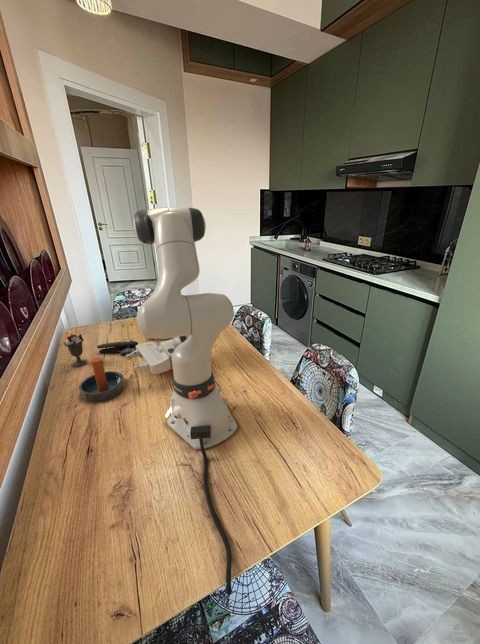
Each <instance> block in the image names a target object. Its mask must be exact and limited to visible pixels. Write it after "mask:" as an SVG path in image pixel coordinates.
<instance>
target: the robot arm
mask: <svg viewBox="0 0 480 644" xmlns="http://www.w3.org/2000/svg"><path fill="white" fill-rule="evenodd" d="M132 228H133V232H134V234H135V235H136V237H137V239H138V241H139V242H141V243H142V244H145V245H153V244H154V248H155V254H156V261H157V273H158V274H157V281H156V286H155V288H154V290H153V292H152V293H151V295H149V297H148V298H147V299H145V301H144V302H143V303H141V305H140V306H139V308H138V310H137V312H136V325H137V327H138V329H139V331H140V332H141V334H142V335H143V336H145V337H146V338H147V339H149V338H155V339H154V340H160V339H167V340H162V341H160V342H156V341H146V342H142V343H138V345H136V350H135V351H133V352H132V353H131V354H127V355H126V356H125V358H126V360H127V361H131V360H133V359H134V358H138V357H139V358H140V359H141V361H142V362H143V363H144V364H138V363H137V364H134V365H133V367H132V368H133V370H134V372H139V371H149V372H150V373H151V374H152V375H159V374H163V373H165V372H168V371H170V370H172V372H173V374H172V387H173V393H172V394H171V397H170V398H169V402H170V404H169V405H170V407H169V409H168V410H167V412H166V414H165V418H168V419H167V420H166V425H167V426H168V427H169V428H170V429H171V430H172V431H174V432H175V433H176V434H177V435H178V436H179V437H180V438H181V439H183V440H184V441H185V442H186V443H187V444H188V445H190V446H191V447H192V448H193V449H194V450H200V451H201V454H202V458H203V474H202V475H203V476H202V481H203V482H202V483H203V489H204V494H205V499H206V503H207V506H208V509H209V512H210V516H211V518H212V522H213V524H214V525H215V527H216V529H217V531H218V533H219V535H220V537H221V539H222V542H223V545H224V548H225V554H226V569H225V588H226V591H225V592H226V595H228V596H230V595H232V591H233V590H232V562H233V561H232V560H233V559H232V550H231V546H230V542H229V539H228V537H227V535H226V532H225V530H224V529H223V526H222V524H221V523H220V521H219V519H218V516H217V514H216V511H215V508H214V504H213V502H212V498H211V495H210V489H209V483H208V465H209V464H208V456H207V451H206V450H205V449H209V448H211V447H214V446H217V445H218V444H221V443H222V442H224V441H225V440H227V439H229V438H230V437H232V435H234V434H235V433H236V431H237V429H238V424H237V422H236V420H235V419H234V417H233V415H232V413H231V412H230V410H229V408H228V406H229V400H228V398H227V397H222V395H221V393H222V390H221V388H218V386H217V385H216V380H215V376H214V372H213V370H212V352H213V348H214V345H215V343H216V341H217V339H218V337H219V336H220V335H221V334H222V333H223V331H225V330H226V329H227V328H228V327H229V326H230V325H231V324H232V321H233V319H234V312H235V310H234V306H233V303H232V301H231V300H230V298H229V297H228V296H227V295H225V294H223V293H214V292H204V293H194V294H187V295H186V294H182V290H183V289H184V288H186V287H187V286H189V285H191V284H193V283H194V282H195V281H196V280H197V279H198V277H199V275H200V270H201V269H200V264H199V259H198V253H197V248H196V242H199V241H201V240H202V239H203V238H204V237H205V235H206V234H205V233H206V229H207V225H206V220H205V218H204V216H203V213H202V212H201V210H200V209H198V208H194V207H188V208H186V207H185V208H184V207H167V206H166V207H155V208H149V209H147V208H143V209H140V210H137V211H136V212H135V213H134V215H133V220H132ZM169 415H170V416H169ZM226 583H227V584H226Z"/></svg>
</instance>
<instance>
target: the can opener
mask: <svg viewBox="0 0 480 644" xmlns="http://www.w3.org/2000/svg"><path fill="white" fill-rule="evenodd" d="M138 344H139V343H138V341H135V340H133V339H131V340H129V341H124V340H121V341H115V342H107V343H101V344H98V345H97V346H96V349H99V351H98V353H99V354H109V353H115V352H120V355H121V356H123V357H126V355H127V354H131V353H132V352H133V351H135V350H136V345H138Z"/></svg>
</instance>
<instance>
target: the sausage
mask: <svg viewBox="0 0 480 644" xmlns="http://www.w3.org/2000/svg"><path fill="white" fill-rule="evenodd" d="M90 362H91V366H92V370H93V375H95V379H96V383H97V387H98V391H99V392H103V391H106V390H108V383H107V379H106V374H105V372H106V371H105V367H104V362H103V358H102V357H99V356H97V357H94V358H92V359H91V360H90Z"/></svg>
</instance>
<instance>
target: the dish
mask: <svg viewBox="0 0 480 644" xmlns="http://www.w3.org/2000/svg"><path fill="white" fill-rule="evenodd" d="M105 374H106V379H107V383H108V390H106V391H103V392H99V391H98V387H97V383H96V379H95V375H94V374H92V375H90V376H88V377H86V378H85V379H83V380H82V381H81V382H80V384H79V386H78V390H79V393H80V397H81V399H82V400H83V401H85V402H88V403H89V402H90V403H98V402H103V401H107V400H110V399H112V398H114V397H116V396H117V395H119V394H120V393H121V392H122V391H123V390H124V389H125V385H126V382H125V377H124V375H123V374H122V373H121V372H119V371H116V370H115V371H112V370H107V371H105Z"/></svg>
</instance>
